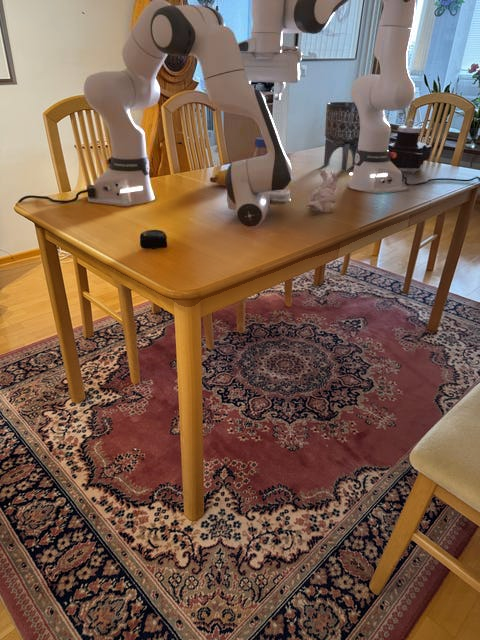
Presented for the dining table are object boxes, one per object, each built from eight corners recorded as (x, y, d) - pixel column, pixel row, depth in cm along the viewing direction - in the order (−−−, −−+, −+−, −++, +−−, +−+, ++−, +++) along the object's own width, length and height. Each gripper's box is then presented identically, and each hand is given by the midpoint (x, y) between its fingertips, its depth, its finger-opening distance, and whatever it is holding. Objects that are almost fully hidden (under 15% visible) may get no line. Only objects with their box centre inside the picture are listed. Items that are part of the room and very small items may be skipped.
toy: (207, 178, 170) (214, 169, 182) (213, 195, 173) (220, 184, 185) (234, 169, 167) (240, 160, 179) (240, 186, 169) (245, 176, 182)
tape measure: (140, 252, 115) (139, 238, 113) (141, 242, 120) (140, 229, 119) (167, 251, 116) (166, 237, 114) (167, 241, 121) (166, 228, 120)
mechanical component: (377, 119, 195) (405, 114, 215) (369, 169, 206) (397, 160, 225) (427, 124, 183) (452, 118, 203) (415, 177, 194) (441, 167, 213)
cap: (270, 145, 144) (270, 137, 143) (267, 148, 140) (268, 140, 139) (256, 144, 145) (257, 136, 144) (253, 147, 141) (253, 139, 140)
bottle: (269, 205, 154) (272, 139, 143) (265, 209, 149) (269, 141, 139) (253, 203, 155) (255, 138, 144) (249, 208, 151) (251, 140, 140)
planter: (313, 167, 208) (319, 103, 195) (331, 160, 222) (338, 101, 209) (353, 173, 199) (362, 107, 185) (369, 166, 213) (379, 104, 199)
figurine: (341, 207, 153) (346, 168, 147) (322, 218, 142) (326, 176, 136) (319, 203, 157) (323, 165, 150) (299, 213, 146) (302, 173, 140)
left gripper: (290, 191, 136) (292, 181, 147) (223, 188, 138) (230, 177, 150) (289, 212, 139) (291, 200, 151) (223, 208, 141) (230, 196, 153)
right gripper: (304, 46, 129) (300, 100, 136) (235, 45, 134) (235, 97, 141) (300, 45, 124) (296, 101, 131) (229, 44, 129) (229, 98, 136)
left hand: (260, 189), depth 150 cm, fingers closed on bottle, 5 cm apart
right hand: (264, 99), depth 136 cm, fingers open, 7 cm apart
